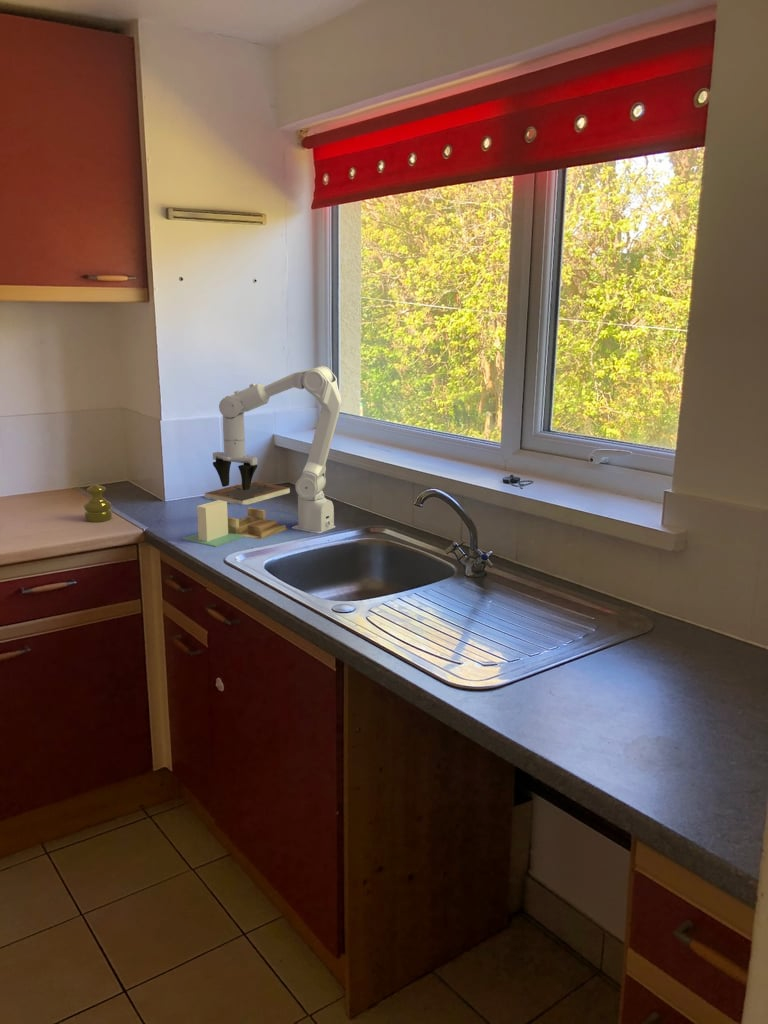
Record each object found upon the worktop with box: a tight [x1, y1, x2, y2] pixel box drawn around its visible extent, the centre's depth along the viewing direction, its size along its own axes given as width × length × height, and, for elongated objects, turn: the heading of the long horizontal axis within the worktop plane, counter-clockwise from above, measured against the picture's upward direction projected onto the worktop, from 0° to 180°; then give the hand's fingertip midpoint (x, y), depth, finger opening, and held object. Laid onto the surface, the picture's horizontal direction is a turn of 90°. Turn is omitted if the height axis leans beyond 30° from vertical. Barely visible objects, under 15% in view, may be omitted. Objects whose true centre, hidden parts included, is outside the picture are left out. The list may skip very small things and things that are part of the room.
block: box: [196, 500, 229, 542], centre depth 219 cm, size 3×8×9 cm, turn 148°
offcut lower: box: [248, 524, 281, 536], centre depth 226 cm, size 5×8×1 cm, turn 148°
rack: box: [228, 507, 288, 540], centre depth 227 cm, size 14×12×4 cm
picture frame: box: [204, 481, 291, 506], centre depth 267 cm, size 16×2×22 cm
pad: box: [181, 532, 246, 548], centre depth 220 cm, size 12×11×1 cm
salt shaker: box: [83, 483, 113, 523], centre depth 237 cm, size 7×8×10 cm
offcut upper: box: [247, 518, 279, 532], centre depth 225 cm, size 4×7×1 cm, turn 148°
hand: (235, 487), depth 232 cm, fingers open, 7 cm apart
